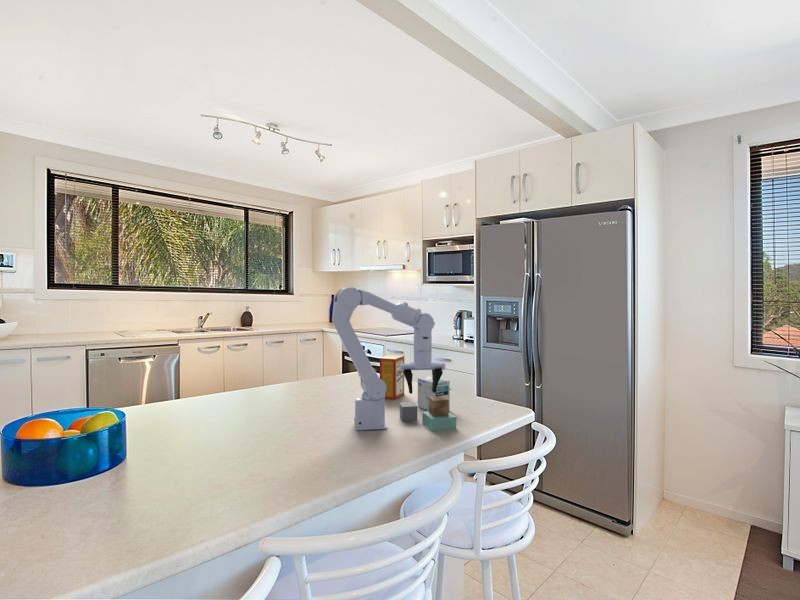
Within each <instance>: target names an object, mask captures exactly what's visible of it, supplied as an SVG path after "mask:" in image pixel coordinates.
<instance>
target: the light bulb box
mask: <svg viewBox="0 0 800 600" xmlns="http://www.w3.org/2000/svg"><path fill="white" fill-rule="evenodd" d="M432 382H433V379H432V375H428V376H421V377H417V408H420V409H423V410H425V409H426V411H429V397H430V396H445V397H446V398H447V399H448V400H449V410H450V411H451V409H450V408H451V407H450V405H451V403H450V400H451V399H450V398H451V396H450V395H451V391H450V388H451V387H450V385H451V384H450V383H451V382H450V380H449V379H448V380H447V379H445V378H444V379H443V378H440V380H439V382H438V385H437V389H436V393H433V391H432Z"/></svg>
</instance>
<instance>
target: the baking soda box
mask: <svg viewBox="0 0 800 600" xmlns="http://www.w3.org/2000/svg"><path fill="white" fill-rule="evenodd" d="M400 364H405V355H398V354H397V355H395V354H388V355H383V356H381V357H380V358H379V378H380V379H381V380H383V381H384V382H385V384H386V388H387V389H386V393H385V400H392V399H393V400H392V401H395V399H396V400H397V399H398V398H400V396H401V397H402V396H404V395H405V375H404V373H403V371H400Z"/></svg>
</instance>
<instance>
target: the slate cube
mask: <svg viewBox="0 0 800 600" xmlns="http://www.w3.org/2000/svg"><path fill="white" fill-rule="evenodd" d="M399 420H400V421H401V423H412V422H411V421H417V422H418V404H417V403H416V402H415V401H412V402H399Z"/></svg>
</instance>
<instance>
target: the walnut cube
mask: <svg viewBox="0 0 800 600" xmlns="http://www.w3.org/2000/svg"><path fill="white" fill-rule="evenodd" d="M449 412H450V411H449V400H448V399H447V398H446V397H445V396H430V397H429V413H430V414H431V415H432V416H433V417H441V416H449Z"/></svg>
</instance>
